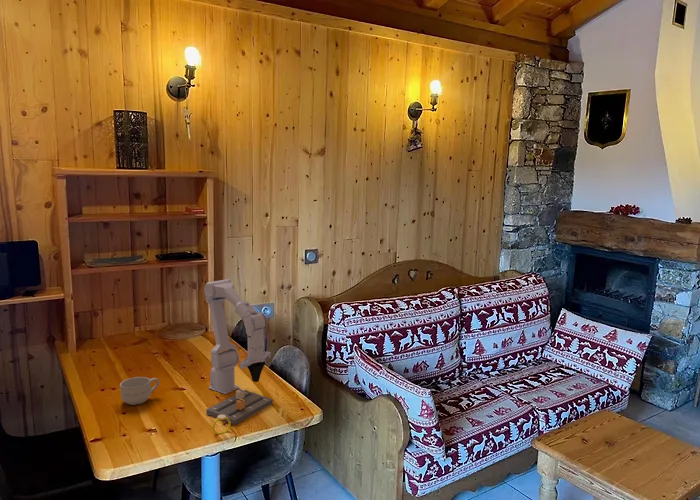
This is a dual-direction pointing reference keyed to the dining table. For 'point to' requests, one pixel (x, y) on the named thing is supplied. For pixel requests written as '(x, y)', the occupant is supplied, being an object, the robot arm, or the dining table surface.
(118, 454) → the dining table surface
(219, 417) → the watch
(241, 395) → the fader ivory
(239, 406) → the fader orange
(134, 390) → the teacup
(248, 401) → the fader panel
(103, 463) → the dining table surface
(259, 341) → the robot arm
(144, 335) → the dining table surface
